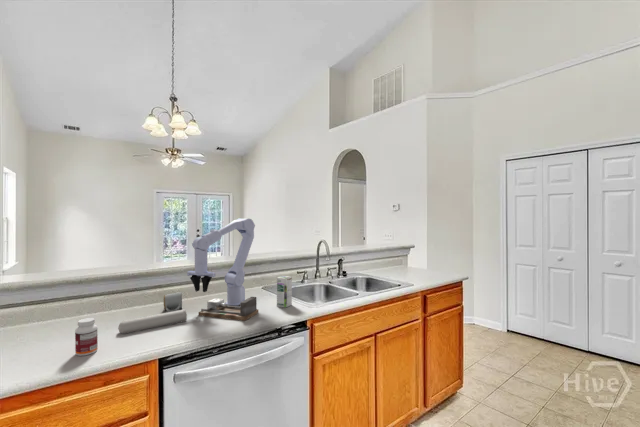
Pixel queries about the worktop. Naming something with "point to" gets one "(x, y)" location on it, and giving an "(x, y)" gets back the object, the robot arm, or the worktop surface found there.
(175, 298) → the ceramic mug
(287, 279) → the syrup box
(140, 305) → the worktop surface
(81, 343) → the pill bottle
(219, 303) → the gauge carriage
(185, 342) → the worktop surface
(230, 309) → the gauge base
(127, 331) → the tube
